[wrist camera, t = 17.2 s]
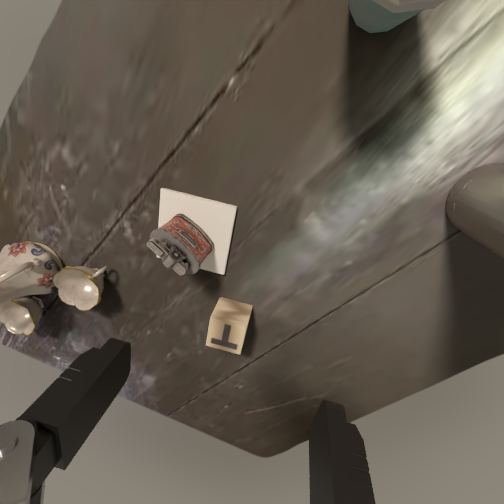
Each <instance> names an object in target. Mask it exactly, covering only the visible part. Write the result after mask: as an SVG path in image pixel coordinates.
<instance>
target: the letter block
mask: <svg viewBox="0 0 504 504" xmlns="http://www.w3.org/2000/svg"><path fill="white" fill-rule="evenodd" d="M252 307H253V306H252V305H249V304H245V303H241V302H237V301H233V300H230V299H226V298H222V297H220V299H219V301H218V303H217V305H216V307H215V309H214V311H213V313H212V315H211V317H210V322H209V328H208V335H207V341H206V345H207V346H210V347H214V348H217V349H221V350H225V351H228V352H232V353H235V354H239V355H240V354H241V350H242V346H243V343H244V339H245V336H246V332H247V328H248V324H249V320H250V315H251V311H252Z"/></svg>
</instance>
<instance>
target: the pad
mask: <svg viewBox="0 0 504 504" xmlns="http://www.w3.org/2000/svg"><path fill="white" fill-rule="evenodd" d="M236 211H237V206H234V205H230V204H226V203H222V202H218V201H214V200H210V199H206V198H202V197H198V196H194V195H190V194H186V193H182V192H178V191H174V190H170V189H166V188H161V193H160V209H159V225H158V228H159V227H162V226H163V225H164V224H166V223H167V222H169V221H170V220H171V219H172V217H174V216H175V215H176V214H179V213H180V214H184V215H185V216H187V217H188V218H190V219H191V220H193V221H194V222H195V223H196V224H198V225H199V226H200V227H201V228H202V229H203V230H204V231H205V232H206V233H207V235H208V236H209V237H210V239H211V240H212V241H213V243H214V249H213V250H212V252H211V253H210V254H208V255H207V257H206V258H205V259H204V261H203V262H202V263H201V266H200V269H203V270H207V271H211V272H215V273H218V274H222V275H224V274H225V270H226V264H227V259H228V254H229V248H230V243H231V238H232V232H233V227H234V222H235V216H236ZM157 257H158V258H160V257H159V256H158V255H157Z"/></svg>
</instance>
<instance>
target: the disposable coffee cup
mask: <svg viewBox="0 0 504 504" xmlns="http://www.w3.org/2000/svg"><path fill="white" fill-rule="evenodd" d="M444 1H445V0H349V10H350V12H351V15H352V17H353V19H354V21H355V24H356V25H357V26H358V27H360V28H362V29H363V30H365V31H367V32H369V33H378V32H387V31H389V30H390V29H392V28H394V27H396V26H397V25H399V24H401V23H403V22H404V21H406V20H408V19H409V18H411V17H413V16H415V15H416V14H418V13H420V12H421V11H423V10H425V9H432V8H435V7H437V6H438V5H439V4H441V3H442V2H444Z"/></svg>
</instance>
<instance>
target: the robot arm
mask: <svg viewBox="0 0 504 504" xmlns="http://www.w3.org/2000/svg"><path fill="white" fill-rule="evenodd" d="M446 212H447V216H448V218H449V220H450V222H451V223H452V224H453V225H454V226H455V227H456V228H458V229H459V230H461V231H462V232H464V233H465V234H467V235H468V236H469V237H471V238H472V239H474V240H475V241H477V242H478V243H480V244H481V245H483V246H484V247H486V248H487V249H489V250H490V251H492V252H493V253H495V254H496V255H498V256H499V257H501V258H502V259H504V164H490V165H484V166H481V167H479V168H476V169H474V170H472V171H470V172H469V173H467V174H466V175H464V176H463V177H462V178H461V179H460V180H459V181H458V182H457V183H456V184H455V185H454V187H453V188H452V190H451V191H450V193H449V196H448V198H447V204H446ZM130 363H131V344H130V343H129V342H125V341H122V340H118V339H115V338H111V339H109V340H108V341H107V342H106V343H105V344H104V345H103V346H102V348H101V349H98V348H94V347H93V348H92V349H90V350H88V351H86V352H85V353H83V354H81V355H80V356H79V357H78V358H77V359H76V360H75V361H74V362H73V363H72V364H71V365H70V366H69V368H68V369H66V370H65V371H64V372H63V373H62V374H61V375H60V377H59V378H57V379H56V380H55V381H54V382H53V383H52V384H51V385H50V386H49V388H47V389H46V390H45V392H44V393H43V394H42V395H41V396H40V397H39V398H38V399H37V400H36V401H35V402H34V403H33V404H32V405H31V406H30V407H29V408H28V409H27V410H26V411H25V412H24V413H23V414H22V415H21V416H20V417H19V418H17V419H16V420H14V421H9V422H6V423H4V424H1V425H0V504H43V499H44V488H45V479H46V478H47V476H48V475H49V473H50V472H51V471H52V469H53V468H54V467H56V468H60V469H63V470H65V469H66V468H67V466H68V465H69V463H70V462H71V461H72V459H73V457H74V456H75V455H76V453H77V452H78V450H79V449H80V447H81V446H82V444H83V443H84V442H85V440H86V439H87V437H88V436H89V434H90V433H91V432H92V430H93V429H94V427H95V426H96V424H97V423H98V422H99V420H100V419H101V417H102V416H103V414H104V413H105V411H106V410H107V409H108V407H109V406H110V404H111V403H112V401H113V400H114V398H115V397H116V395H117V394H118V393H119V391H120V390H121V388H122V387H123V385H124V384H125V382H126V380H127V378H128V376H129V373H130ZM309 467H310V504H375V499H374V494H373V488H372V483H371V478H370V474H369V467H368V462H367V460H366V451H365V446H364V441H363V439H362V437H361V435H360V433H359V431H358V429H357V427H356V425H354V424H351V423H348V422H347V421H346V414H345V409H344V406H343V405H340V404H337V403H333V402H330V401H327V400H323V401H322V403H321V405H320V407H319V409H318V411H317V413H316V415H315V417H314V420H313V422H312V424H311V428H310V434H309Z"/></svg>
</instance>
